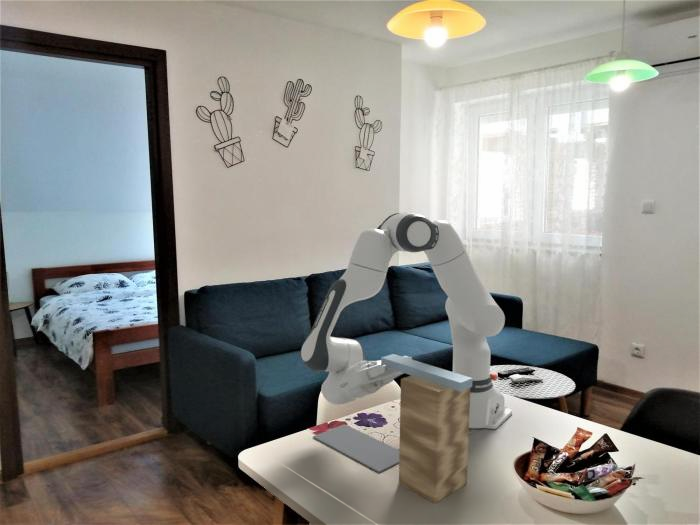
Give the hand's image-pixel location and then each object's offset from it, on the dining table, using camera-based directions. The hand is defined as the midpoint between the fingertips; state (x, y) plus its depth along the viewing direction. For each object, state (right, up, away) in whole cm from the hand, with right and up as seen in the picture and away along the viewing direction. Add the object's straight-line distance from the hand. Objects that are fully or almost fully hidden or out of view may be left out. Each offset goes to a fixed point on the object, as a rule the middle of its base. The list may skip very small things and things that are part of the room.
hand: (398, 364), depth 134 cm
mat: (-9, -25, +13) cm, 30 cm away
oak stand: (+8, -28, -5) cm, 29 cm away
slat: (+6, -2, -6) cm, 8 cm away
